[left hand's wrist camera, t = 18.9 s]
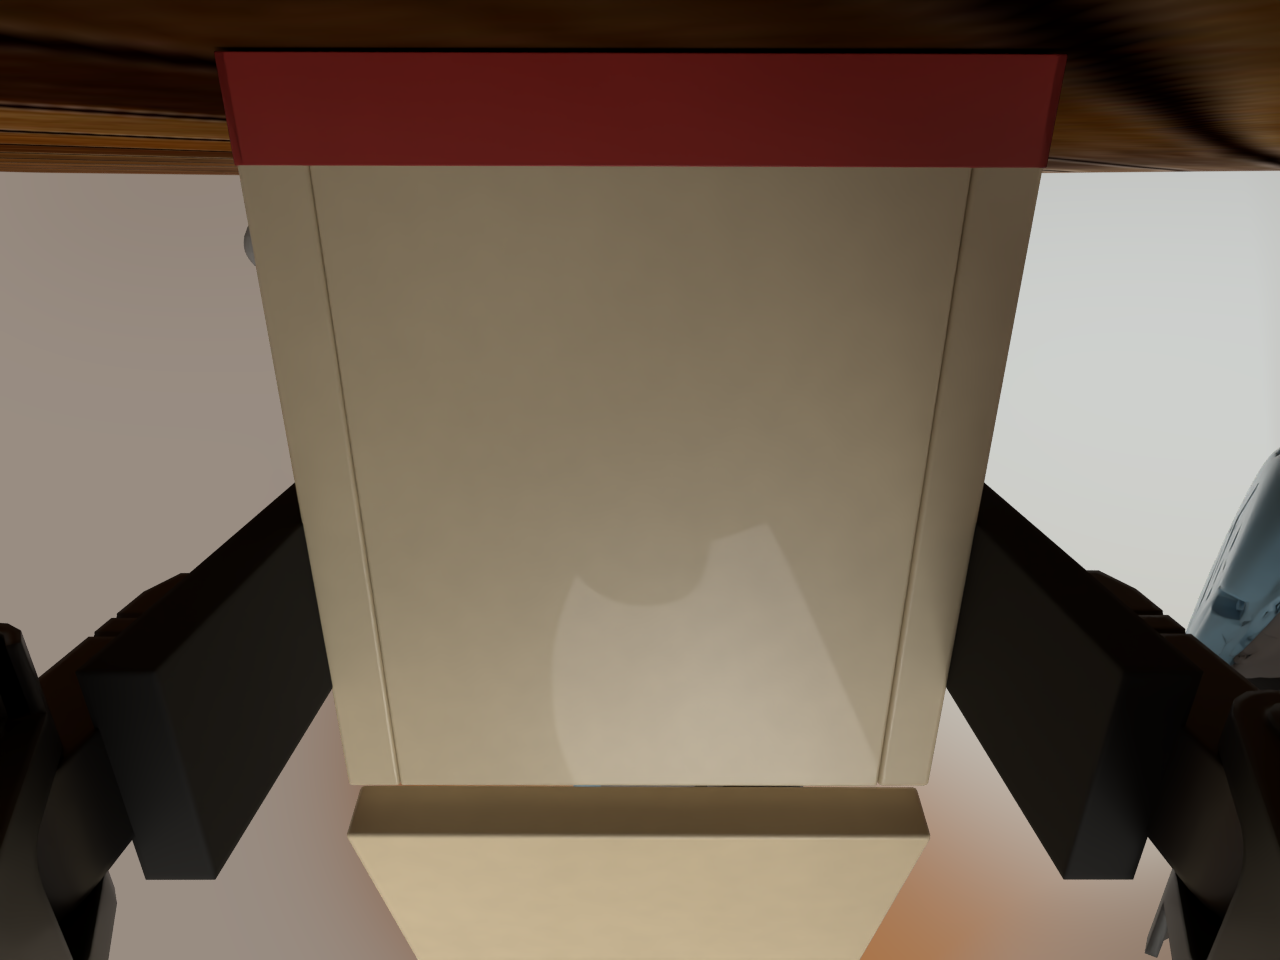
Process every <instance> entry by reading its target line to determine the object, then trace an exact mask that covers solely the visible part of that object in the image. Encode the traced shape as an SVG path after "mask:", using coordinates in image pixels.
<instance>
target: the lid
mask: <svg viewBox="0 0 1280 960" xmlns="http://www.w3.org/2000/svg"><path fill="white" fill-rule="evenodd" d="M347 837H348V839H349V841H350V843H351V844H352V846H353V848H354V849H355V851H356V853H357V855H358V856H359V858H360V860H361V862H362V864H363V865H364V867H365V869H366V870H367V872H368V874H369V876H370V877H371V879H372V881H373V883H374V884H375V886H376V888H377V890H378V891H379V893H380V895H381V897H382V898H383V900H384V902H385V904H386V905H387V907H388V909H389V911H390V912H391V914H392V916H393V918H394V919H395V921H396V923H397V925H398V926H399V928H400V930H401V931H402V933H403V935H404V937H405V938H406V940H407V942H408V944H409V945H410V947H411V949H412V951H413V952H414V954H415V956H416V958H417V959H418V960H860V958H861V956H862V955H863V953H864V951H865V949H866V948H867V946H868V944H869V942H870V941H871V939H872V937H873V936H874V934H875V932H876V930H877V929H878V927H879V925H880V924H881V922H882V920H883V918H884V917H885V915H886V913H887V911H888V910H889V908H890V906H891V905H892V903H893V901H894V900H895V898H896V896H897V894H898V893H899V891H900V889H901V887H902V886H903V884H904V882H905V880H906V879H907V877H908V875H909V874H910V872H911V870H912V869H913V867H914V865H915V863H916V862H917V860H918V858H919V857H920V855H921V853H922V851H923V850H924V848H925V846H926V845H927V843H928V841H929V839H930V833H929V829H928V826H927V823H926V819H925V816H924V812H923V809H922V806H921V802H920V799H919V795H918V792H917V790H916V788H913V787H559V786H555V787H554V786H553V787H552V786H364V787H362V788H361V790H360V793H359V796H358V799H357V803H356V806H355V809H354V813H353V816H352V820H351V823H350V826H349V829H348V833H347Z"/></svg>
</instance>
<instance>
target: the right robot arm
mask: <svg viewBox="0 0 1280 960" xmlns="http://www.w3.org/2000/svg"><path fill="white" fill-rule="evenodd" d="M573 786H574V787H803V786H658V785H573Z"/></svg>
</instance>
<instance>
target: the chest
mask: <svg viewBox="0 0 1280 960" xmlns="http://www.w3.org/2000/svg"><path fill="white" fill-rule="evenodd" d="M214 54H215V60H216V65H217V71H218V76H219V82H220V87H221V93H222V98H223V104H224V109H225V115H226V120H227V126H228V131H229V137H230V142H231V148H232V153H233V159H234V164H235V165H236V166H238V170H239V175H240V181H241V186H242V192H243V197H244V203H245V208H246V214H247V219H248V225H249V231H250V236H251V242H252V247H253V253H254V258H255V264H256V269H257V275H258V280H259V286H260V292H261V297H262V303H263V308H264V314H265V319H266V325H267V330H268V336H269V341H270V347H271V352H272V358H273V364H274V369H275V375H276V380H277V386H278V391H279V397H280V402H281V408H282V413H283V419H284V424H285V430H286V436H287V441H288V446H289V452H290V458H291V463H292V469H293V474H294V480H295V485H296V491H297V496H298V502H299V508H300V513H301V519H302V523H303V527H304V532H305V538H306V543H307V549H308V554H309V560H310V565H311V570H312V576H313V581H314V587H315V592H316V598H317V603H318V609H319V614H320V620H321V625H322V631H323V636H324V642H325V647H326V653H327V658H328V664H329V669H330V674H331V680H332V685H333V688H332V690H333V696H334V701H335V707H336V713H337V718H338V724H339V729H340V734H341V740H342V746H343V751H344V757H345V762H346V768H347V773H348V779H349V783H350V784H351V785H397V784H399V783H400V781H401V784H403V785H658V786H875V785H877V782H878V783H879V784H880V785H916V786H919V785H920V786H922V785H923V786H924V785H927V783H928V780H929V775H930V770H931V764H932V759H933V754H934V748H935V743H936V738H937V732H938V727H939V721H940V716H941V711H942V705H943V700H944V694H945V689H946V684H947V678H948V673H949V668H950V662H951V657H952V651H953V646H954V640H955V635H956V629H957V624H958V619H959V613H960V608H961V602H962V597H963V591H964V586H965V580H966V575H967V569H968V564H969V559H970V553H971V548H972V542H973V537H974V531H975V526H976V523H977V517H978V512H979V506H980V501H981V496H982V490H983V485H984V480H985V474H986V469H987V463H988V458H989V453H990V447H991V442H992V437H993V431H994V426H995V420H996V415H997V409H998V404H999V399H1000V393H1001V388H1002V383H1003V377H1004V372H1005V367H1006V361H1007V356H1008V350H1009V345H1010V340H1011V334H1012V329H1013V324H1014V318H1015V313H1016V308H1017V302H1018V297H1019V291H1020V286H1021V281H1022V275H1023V270H1024V264H1025V259H1026V254H1027V248H1028V243H1029V238H1030V232H1031V227H1032V221H1033V216H1034V211H1035V205H1036V200H1037V195H1038V189H1039V184H1040V178H1041V173H1042V168H1046V167H1047V162H1048V156H1049V151H1050V146H1051V141H1052V135H1053V130H1054V125H1055V119H1056V114H1057V109H1058V103H1059V98H1060V93H1061V87H1062V82H1063V77H1064V71H1065V66H1066V61H1067V54H905V53H590V52H276V51H215V52H214Z"/></svg>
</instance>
